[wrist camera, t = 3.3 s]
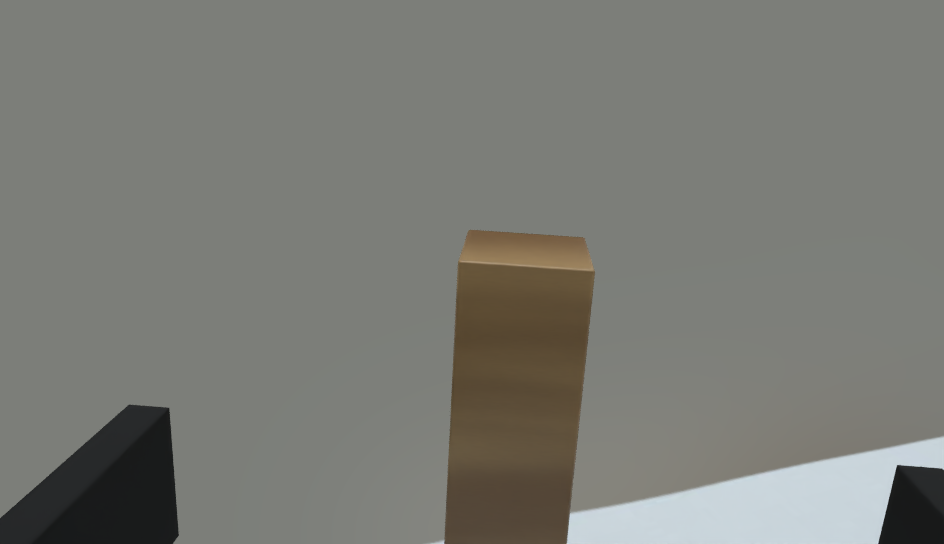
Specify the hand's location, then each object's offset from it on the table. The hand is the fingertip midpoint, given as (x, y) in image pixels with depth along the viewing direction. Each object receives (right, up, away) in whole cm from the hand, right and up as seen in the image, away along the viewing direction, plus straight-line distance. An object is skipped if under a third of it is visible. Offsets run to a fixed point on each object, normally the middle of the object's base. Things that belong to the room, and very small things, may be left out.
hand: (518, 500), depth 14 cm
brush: (0, -10, +12) cm, 15 cm away
